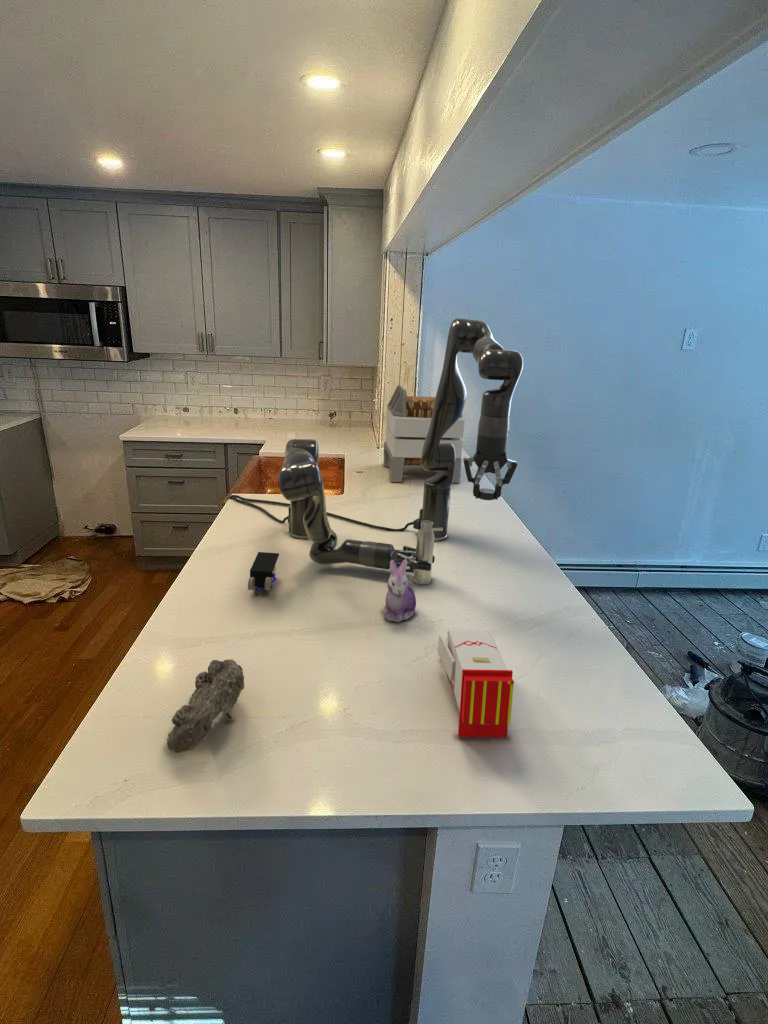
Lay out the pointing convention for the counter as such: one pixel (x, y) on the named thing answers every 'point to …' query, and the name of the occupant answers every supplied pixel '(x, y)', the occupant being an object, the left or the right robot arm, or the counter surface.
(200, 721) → the fossil
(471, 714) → the toy
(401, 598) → the figurine
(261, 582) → the black toy truck
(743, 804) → the counter surface
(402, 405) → the grey wooden crate
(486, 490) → the cap
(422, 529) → the bottle
